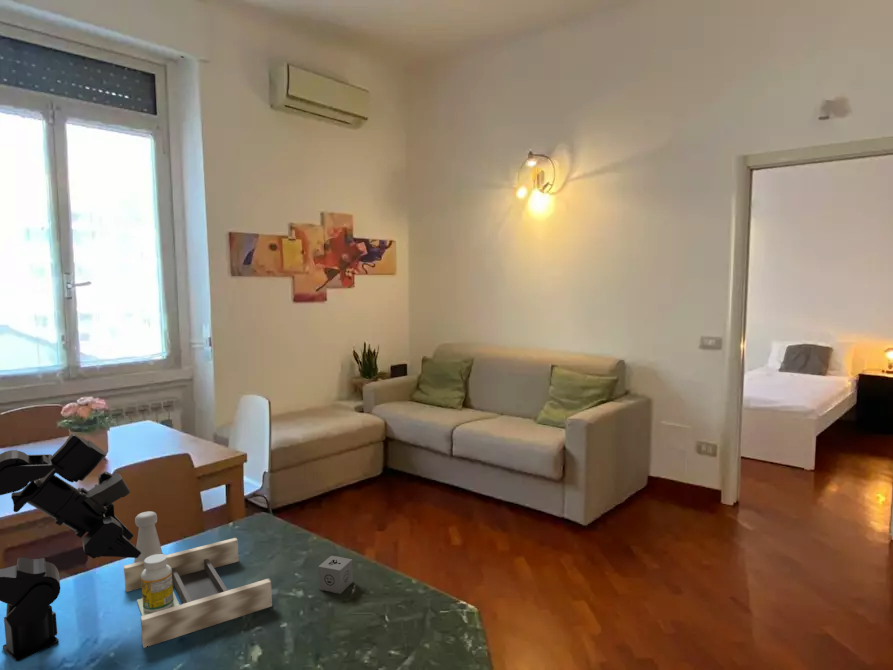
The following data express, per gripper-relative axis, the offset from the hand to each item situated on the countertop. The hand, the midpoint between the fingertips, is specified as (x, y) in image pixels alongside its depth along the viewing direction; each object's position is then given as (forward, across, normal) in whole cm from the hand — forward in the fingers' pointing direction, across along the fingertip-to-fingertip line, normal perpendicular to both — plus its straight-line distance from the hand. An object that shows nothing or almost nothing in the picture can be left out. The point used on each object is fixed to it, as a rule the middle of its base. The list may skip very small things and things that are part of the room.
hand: (135, 546), depth 113 cm
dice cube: (+34, -12, -15) cm, 39 cm away
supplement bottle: (+12, 0, +7) cm, 14 cm away
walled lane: (+17, 0, +2) cm, 17 cm away
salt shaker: (+13, +17, +6) cm, 22 cm away
